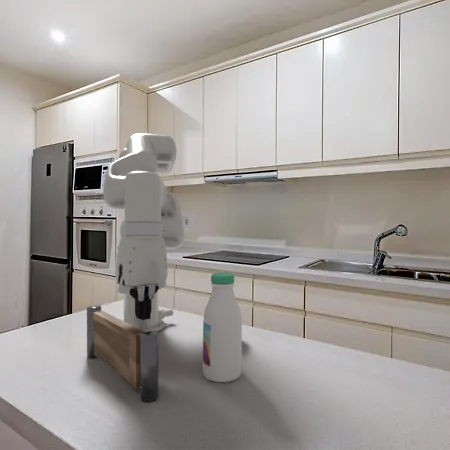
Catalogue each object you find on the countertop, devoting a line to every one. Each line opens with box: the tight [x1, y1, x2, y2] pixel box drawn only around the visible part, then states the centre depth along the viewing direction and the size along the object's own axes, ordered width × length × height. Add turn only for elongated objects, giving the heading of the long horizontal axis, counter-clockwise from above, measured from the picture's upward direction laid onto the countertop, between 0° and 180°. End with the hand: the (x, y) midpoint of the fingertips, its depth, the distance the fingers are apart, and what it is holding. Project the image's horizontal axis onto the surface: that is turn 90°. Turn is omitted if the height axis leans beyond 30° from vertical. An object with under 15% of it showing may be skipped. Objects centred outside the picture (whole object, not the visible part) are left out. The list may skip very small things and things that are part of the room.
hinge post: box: [86, 304, 102, 359], centre depth 73 cm, size 3×3×11 cm
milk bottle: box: [202, 272, 243, 383], centre depth 64 cm, size 8×8×20 cm
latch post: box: [140, 331, 159, 403], centre depth 56 cm, size 3×3×11 cm
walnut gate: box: [93, 310, 146, 390], centre depth 65 cm, size 2×19×9 cm, turn 44°
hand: (143, 318), depth 68 cm, fingers closed
